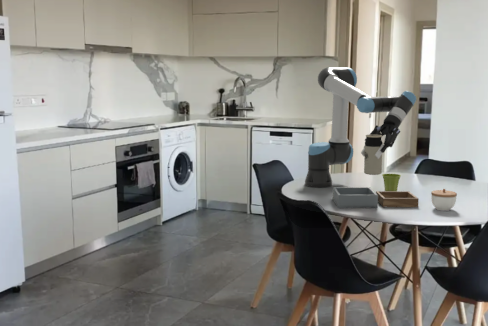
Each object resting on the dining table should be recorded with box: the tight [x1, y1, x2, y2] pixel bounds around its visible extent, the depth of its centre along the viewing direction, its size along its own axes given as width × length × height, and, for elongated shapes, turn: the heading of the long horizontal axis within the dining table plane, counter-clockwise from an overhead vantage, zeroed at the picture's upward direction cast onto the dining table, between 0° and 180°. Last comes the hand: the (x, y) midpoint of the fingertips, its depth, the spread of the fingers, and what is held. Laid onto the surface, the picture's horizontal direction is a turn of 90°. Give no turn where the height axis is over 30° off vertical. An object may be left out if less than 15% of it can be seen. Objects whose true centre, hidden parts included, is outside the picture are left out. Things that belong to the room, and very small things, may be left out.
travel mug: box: [363, 133, 384, 176], centre depth 249 cm, size 8×8×18 cm
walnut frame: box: [375, 190, 420, 208], centre depth 254 cm, size 16×16×4 cm
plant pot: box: [381, 173, 402, 191], centre depth 280 cm, size 9×9×9 cm
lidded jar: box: [430, 188, 458, 212], centre depth 241 cm, size 11×11×9 cm
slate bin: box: [332, 186, 379, 209], centre depth 253 cm, size 18×18×6 cm
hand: (369, 155), depth 248 cm, fingers closed on travel mug, 8 cm apart
